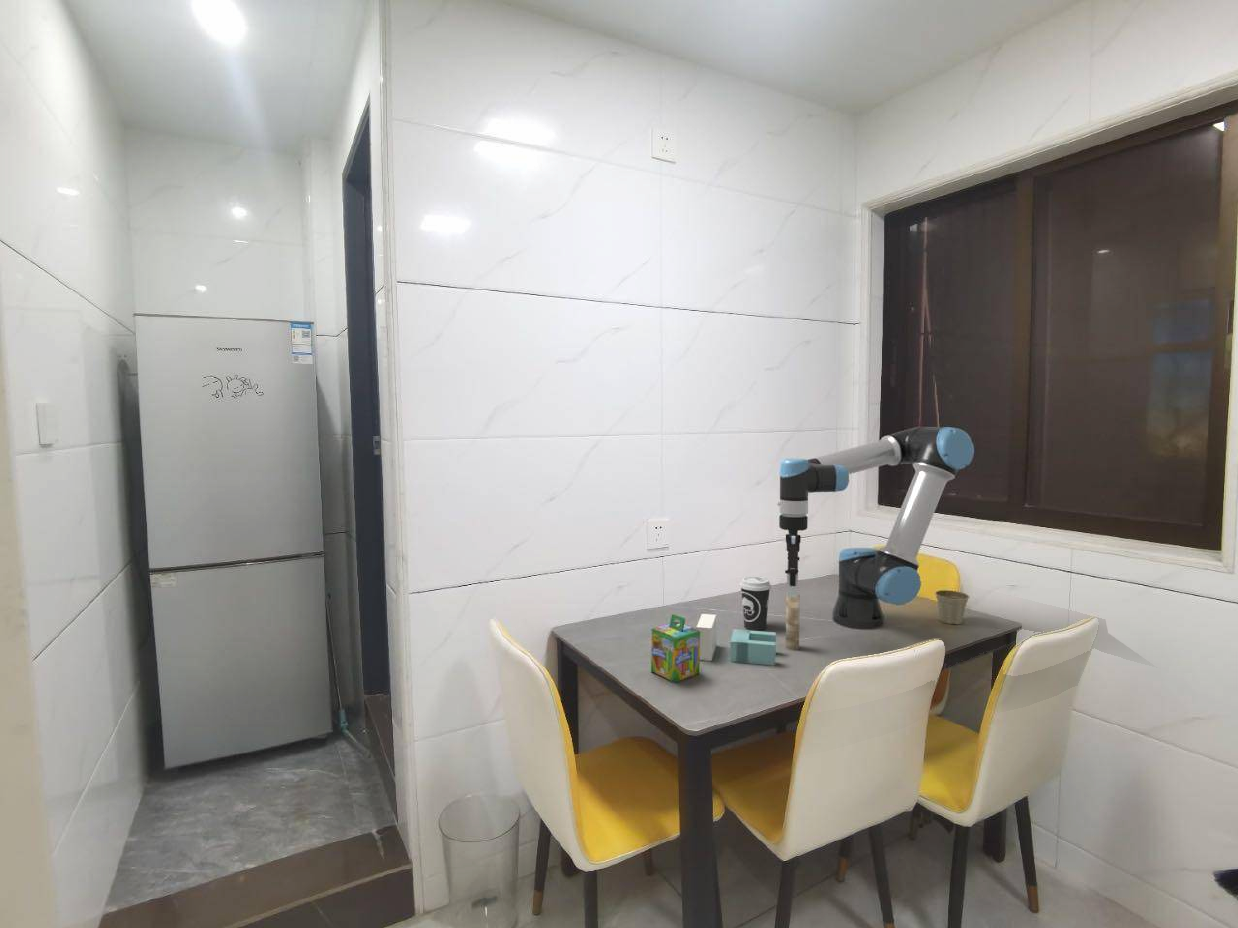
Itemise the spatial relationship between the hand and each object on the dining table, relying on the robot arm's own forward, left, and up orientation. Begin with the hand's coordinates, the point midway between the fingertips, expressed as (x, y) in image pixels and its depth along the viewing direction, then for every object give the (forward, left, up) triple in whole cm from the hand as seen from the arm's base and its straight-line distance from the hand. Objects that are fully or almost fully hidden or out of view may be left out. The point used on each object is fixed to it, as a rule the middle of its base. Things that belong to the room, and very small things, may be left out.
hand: (792, 589), depth 170 cm
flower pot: (-48, -33, -17) cm, 61 cm away
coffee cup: (+11, -14, -17) cm, 24 cm away
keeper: (+9, +9, -17) cm, 21 cm away
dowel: (0, 0, -17) cm, 17 cm away
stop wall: (+23, +9, -17) cm, 30 cm away
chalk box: (+29, +24, -17) cm, 41 cm away
